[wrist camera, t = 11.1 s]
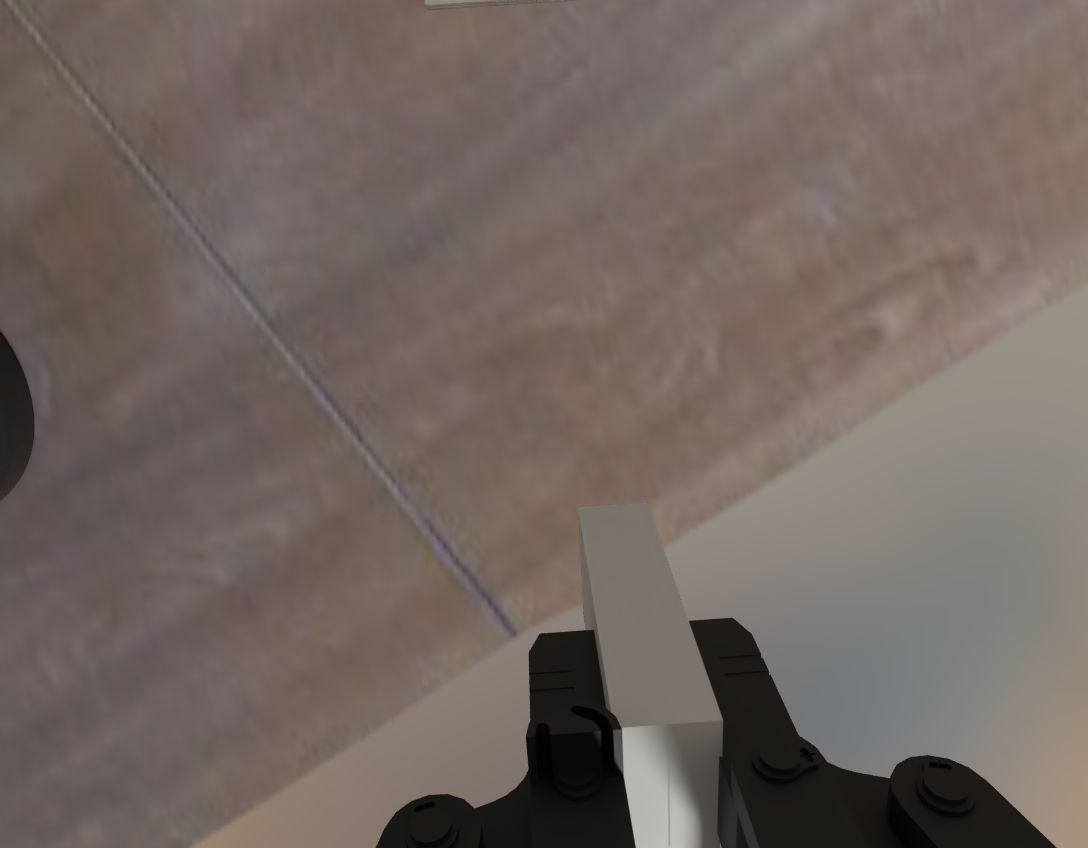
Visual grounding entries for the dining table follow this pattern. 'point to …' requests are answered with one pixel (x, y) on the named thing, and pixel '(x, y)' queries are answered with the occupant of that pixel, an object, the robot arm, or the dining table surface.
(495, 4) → the bolt plate
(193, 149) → the dining table surface
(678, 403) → the dining table surface
